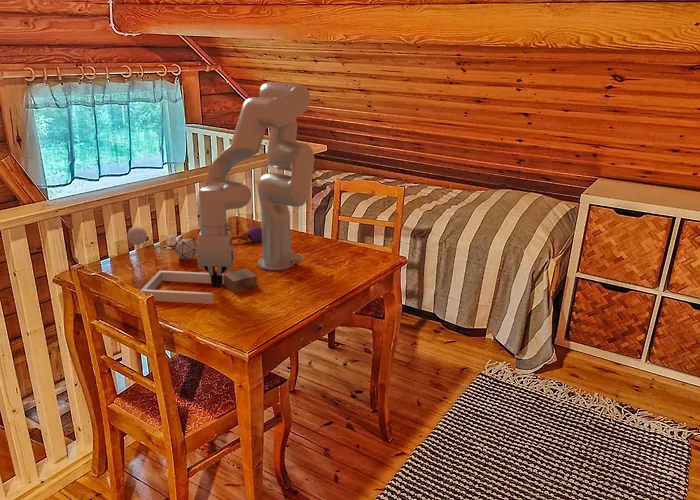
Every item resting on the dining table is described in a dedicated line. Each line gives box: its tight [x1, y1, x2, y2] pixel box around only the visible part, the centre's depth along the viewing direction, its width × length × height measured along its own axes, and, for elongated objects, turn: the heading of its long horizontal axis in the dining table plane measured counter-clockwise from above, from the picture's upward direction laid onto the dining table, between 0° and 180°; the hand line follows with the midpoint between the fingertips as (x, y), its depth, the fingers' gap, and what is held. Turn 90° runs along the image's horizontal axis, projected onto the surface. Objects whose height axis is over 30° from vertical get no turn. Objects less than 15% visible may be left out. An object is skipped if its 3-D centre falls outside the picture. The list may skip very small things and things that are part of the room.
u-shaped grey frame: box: [140, 270, 224, 305], centre depth 172 cm, size 21×15×3 cm
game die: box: [172, 236, 197, 262], centre depth 195 cm, size 9×8×10 cm
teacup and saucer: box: [166, 233, 180, 250], centre depth 209 cm, size 9×8×4 cm
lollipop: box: [126, 225, 148, 271], centre depth 184 cm, size 6×6×15 cm
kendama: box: [231, 225, 262, 243], centre depth 213 cm, size 6×6×20 cm
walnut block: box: [223, 268, 258, 294], centre depth 177 cm, size 8×7×4 cm
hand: (217, 286), depth 171 cm, fingers closed
